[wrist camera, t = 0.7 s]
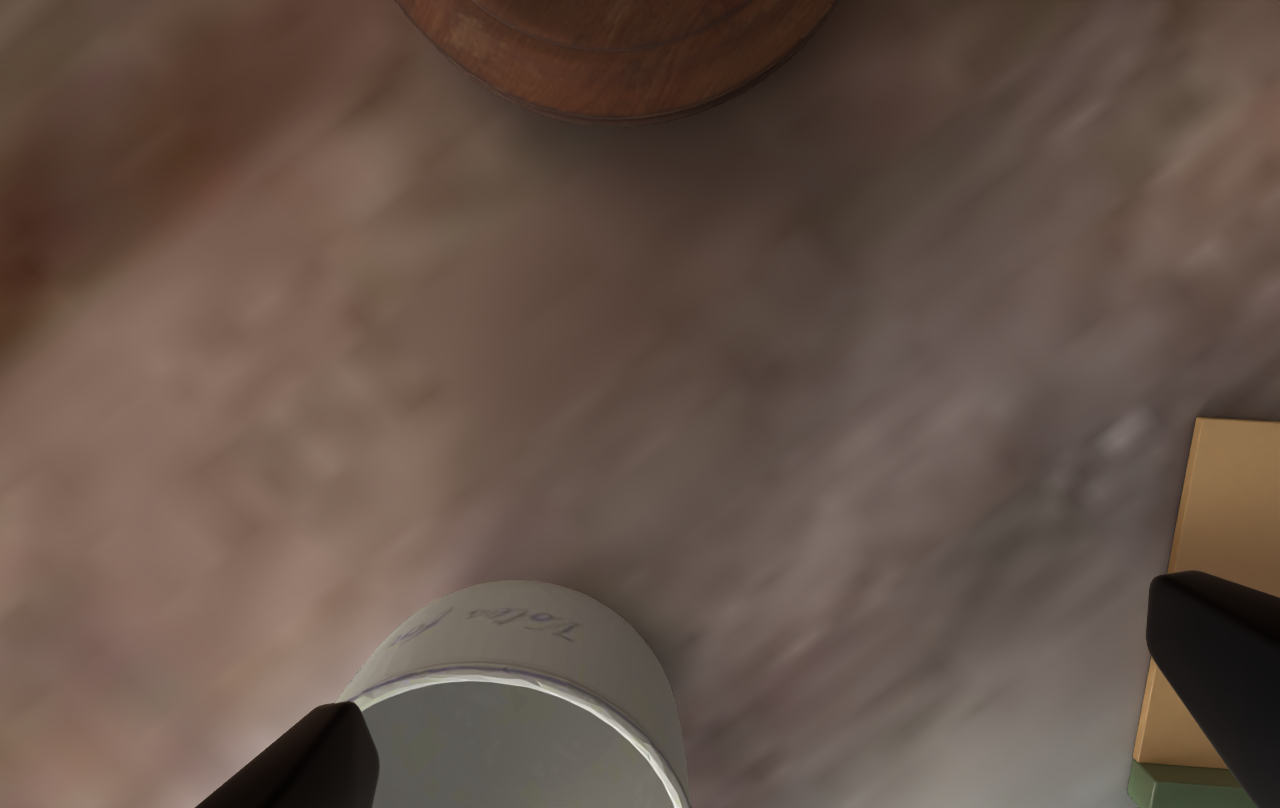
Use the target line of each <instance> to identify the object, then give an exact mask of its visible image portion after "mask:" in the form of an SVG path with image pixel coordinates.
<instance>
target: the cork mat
mask: <svg viewBox="0 0 1280 808" xmlns="http://www.w3.org/2000/svg"><path fill="white" fill-rule="evenodd" d="M1188 570H1196V571H1201V572H1205V573H1208V574H1211V575H1214V576H1217V577H1220V578H1223V579H1226V580H1229V581H1231V582H1234V583H1237V584H1240V585H1243V586H1246V587H1249V588H1252V589H1255V590H1258V591H1261V592H1264V593H1267V594H1270V595H1273V596H1276V597H1279V598H1280V422H1278V421H1260V420H1243V419H1225V418H1208V417H1196V422H1195V427H1194V433H1193V438H1192V443H1191V449H1190V454H1189V459H1188V465H1187V470H1186V475H1185V480H1184V486H1183V491H1182V496H1181V502H1180V507H1179V512H1178V518H1177V523H1176V528H1175V534H1174V539H1173V544H1172V550H1171V555H1170V560H1169V566H1168V571H1167V574H1169V573H1175V572H1182V571H1188ZM1133 758H1134V759H1133V762H1132V767H1131V772H1130V778H1129V783H1128V788H1127V794H1128V795H1129V796H1130V797H1131V799H1132V800H1133V801H1134V802H1135V803H1136V804H1137V805H1138V806H1139V807H1140V808H1257V806H1256V805H1255V804H1254V803H1253V801H1252V800H1251V799H1250V798H1249V796H1248V795H1247V794H1246V792H1245V791H1244V789H1243V788H1242V787H1241V785H1240V784H1239V783H1238V781H1237V780H1236V779H1235V777H1234V776H1233V774H1232V773H1231V772H1230V770H1229V769H1228V767H1227V766H1226V764H1225V763H1224V762H1223V760H1222V759H1221V757H1220V756H1219V754H1218V753H1217V751H1216V750H1215V749H1214V747H1213V746H1212V744H1211V743H1210V741H1209V740H1208V738H1207V737H1206V736H1205V734H1204V733H1203V731H1202V730H1201V728H1200V727H1199V725H1198V724H1197V723H1196V721H1195V720H1194V718H1193V717H1192V715H1191V714H1190V712H1189V711H1188V710H1187V708H1186V707H1185V705H1184V704H1183V702H1182V701H1181V699H1180V698H1179V697H1178V695H1177V694H1176V692H1175V691H1174V689H1173V688H1172V686H1171V685H1170V683H1169V682H1168V681H1167V679H1166V678H1165V676H1164V675H1163V673H1162V672H1161V670H1160V669H1159V668H1158V666H1157V665H1156V663H1155V662H1154V660H1153V658H1152V656H1151V662H1150V667H1149V672H1148V678H1147V683H1146V688H1145V694H1144V699H1143V704H1142V710H1141V715H1140V720H1139V726H1138V731H1137V736H1136V742H1135V747H1134V752H1133Z"/></svg>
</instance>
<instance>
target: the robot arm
mask: <svg viewBox="0 0 1280 808" xmlns="http://www.w3.org/2000/svg"><path fill="white" fill-rule="evenodd" d="M1146 641H1147V646H1148V649H1149V652H1150V654H1151V656H1152V658H1153V660H1154V662H1155V663H1156V665H1157V666H1158V668H1159V669H1160V670H1161V672H1162V673H1163V675H1164V676H1165V678H1166V679H1167V681H1168V682H1169V683H1170V685H1171V686H1172V688H1173V689H1174V691H1175V692H1176V694H1177V695H1178V697H1179V698H1180V699H1181V701H1182V702H1183V704H1184V705H1185V707H1186V708H1187V710H1188V711H1189V712H1190V714H1191V715H1192V717H1193V718H1194V720H1195V721H1196V723H1197V724H1198V725H1199V727H1200V728H1201V730H1202V731H1203V733H1204V734H1205V736H1206V737H1207V738H1208V740H1209V741H1210V743H1211V744H1212V746H1213V747H1214V749H1215V750H1216V751H1217V753H1218V754H1219V756H1220V757H1221V759H1222V760H1223V762H1224V763H1225V764H1226V766H1227V767H1228V769H1229V770H1230V772H1231V773H1232V774H1233V776H1234V777H1235V779H1236V780H1237V781H1238V783H1239V784H1240V785H1241V787H1242V788H1243V789H1244V791H1245V792H1246V794H1247V795H1248V796H1249V798H1250V799H1251V800H1252V801H1253V803H1254V804H1255V805H1256V806H1257V808H1280V598H1279V597H1276V596H1273V595H1270V594H1267V593H1264V592H1261V591H1258V590H1255V589H1252V588H1249V587H1246V586H1243V585H1240V584H1237V583H1234V582H1231V581H1229V580H1226V579H1223V578H1220V577H1217V576H1214V575H1211V574H1208V573H1205V572H1201V571H1196V570H1188V571H1182V572H1175V573H1169V574H1162V575H1159V576H1157V577H1155V578H1154V579H1153V580H1152V582H1151V584H1150V588H1149V600H1148V614H1147V628H1146ZM379 771H380V760H379V755H378V751H377V748H376V746H375V744H374V741H373V739H372V736H371V734H370V731H369V729H368V727H367V724H366V722H365V719H364V717H363V714H362V712H361V710H360V708H359V706H358V705H357V704H356V703H354V702H351V701H344V702H338V703H331V704H325V705H321V706H318V707H316V708H315V709H313V710H312V711H311V712H310V713H309V714H307V715H306V716H305V717H304V718H302V719H301V720H300V721H299V722H298V723H296V724H295V725H294V726H293V727H292V728H290V729H289V730H288V731H287V732H286V733H284V734H283V735H282V736H281V737H280V738H278V739H277V740H276V741H275V742H274V743H272V744H271V745H270V746H269V747H268V748H266V749H265V750H264V751H263V752H261V753H260V754H259V755H258V756H257V757H255V758H254V759H253V760H252V761H251V762H249V763H248V764H247V765H246V766H245V767H243V768H242V769H241V770H240V771H239V772H237V773H236V774H235V775H234V776H233V777H231V778H230V779H229V780H228V781H227V782H225V783H224V784H223V785H222V786H221V787H219V788H218V789H217V790H216V791H214V792H213V793H212V794H211V795H210V796H208V797H207V798H206V799H205V800H204V801H202V802H201V803H200V804H199V805H198V806H196V807H195V808H372V806H373V802H374V797H375V792H376V788H377V783H378V778H379Z"/></svg>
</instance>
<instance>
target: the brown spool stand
mask: <svg viewBox="0 0 1280 808" xmlns="http://www.w3.org/2000/svg"><path fill="white" fill-rule="evenodd" d="M395 1H396V3H397V4H398V5H399V7H400V8H401V9H402V11H403V12H404V13H405V15H406V16H407V17H408V18H409V19H410V20H411V22H412V23H413V24H414V25H415V26H416V27H417V28H418V29H419V31H420V32H421V33H422V34H423V35H424V36H425V37H426V38H427V39H428V40H429V41H430V42H431V43H432V44H433V46H434V47H435V48H436V49H437V50H438V51H439V52H440V53H441V54H443V55H444V56H445V57H446V58H447V59H448V60H449V61H450V62H451V63H452V64H453V65H454V66H455V67H457V68H458V69H459V70H461V71H462V72H463V73H465V74H466V75H467V76H469V77H470V78H471V79H472V80H474V81H475V82H476V83H478V84H480V85H481V86H483V87H484V88H486V89H488V90H489V91H491V92H493V93H494V94H496V95H497V96H499V97H501V98H503V99H505V100H507V101H510V102H512V103H514V104H516V105H518V106H520V107H522V108H525V109H527V110H530V111H533V112H536V113H538V114H541V115H544V116H547V117H551V118H555V119H559V120H563V121H567V122H572V123H579V124H586V125H592V126H611V127H625V126H641V125H649V124H655V123H661V122H667V121H672V120H676V119H679V118H683V117H687V116H690V115H694V114H697V113H699V112H702V111H704V110H707V109H710V108H712V107H715V106H717V105H720V104H722V103H724V102H726V101H727V100H729V99H731V98H733V97H735V96H737V95H739V94H741V93H743V92H745V91H746V90H748V89H749V88H751V87H752V86H754V85H756V84H757V83H759V82H760V81H762V80H764V79H765V78H766V77H768V76H769V75H770V74H771V73H773V72H774V71H775V70H777V69H778V68H779V67H780V66H782V65H783V64H784V63H785V62H787V61H788V60H789V59H790V58H791V57H792V56H793V55H794V54H795V53H796V52H797V51H798V50H799V49H800V48H801V47H802V46H804V45H805V44H806V43H807V41H808V40H809V39H810V38H811V37H812V36H813V35H814V33H815V32H816V31H817V30H818V29H819V28H820V27H821V26H822V24H823V23H824V22H825V21H826V19H827V18H828V17H829V15H830V14H831V12H832V11H833V10H834V8H835V7H836V6H837V4H838V3H839V1H840V0H395Z"/></svg>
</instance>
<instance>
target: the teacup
mask: <svg viewBox="0 0 1280 808" xmlns="http://www.w3.org/2000/svg"><path fill="white" fill-rule="evenodd" d="M344 701H351V702H354V703H356V704H357V705H358V706H359V708H360V710H361V712H362V714H363V717H364V719H365V722H366V724H367V727H368V729H369V731H370V734H371V736H372V739H373V741H374V744H375V746H376V748H377V751H378V755H379V760H380V771H379V778H378V783H377V788H376V792H375V797H374V802H373V806H372V808H692V806H691V802H690V791H689V781H688V771H687V764H686V757H685V750H684V743H683V735H682V729H681V724H680V719H679V714H678V710H677V706H676V702H675V699H674V696H673V693H672V690H671V687H670V684H669V681H668V679H667V677H666V675H665V673H664V671H663V669H662V667H661V665H660V663H659V661H658V660H657V658H656V656H655V655H654V653H653V651H652V650H651V648H650V647H649V646H648V645H647V643H646V642H645V641H644V639H643V638H642V637H641V636H640V635H639V634H638V632H637V631H636V630H635V629H634V628H633V627H632V626H631V625H630V624H629V623H628V622H627V621H626V620H624V619H623V618H622V617H620V616H619V615H618V614H617V613H615V612H614V611H613V610H611V609H610V608H608V607H607V606H605V605H604V604H602V603H600V602H599V601H597V600H596V599H594V598H592V597H590V596H588V595H586V594H583V593H581V592H578V591H575V590H572V589H569V588H566V587H563V586H560V585H556V584H551V583H546V582H541V581H531V580H503V581H493V582H487V583H482V584H476V585H472V586H469V587H466V588H463V589H460V590H457V591H455V592H452V593H450V594H447V595H445V596H443V597H441V598H439V599H437V600H435V601H433V602H431V603H430V604H428V605H426V606H425V607H423V608H422V609H420V610H419V611H417V612H416V613H414V614H413V615H412V616H410V617H409V618H408V619H406V620H405V621H404V622H403V623H402V624H401V625H400V626H399V627H397V628H396V629H395V630H394V631H393V632H392V633H391V634H390V635H389V636H388V637H387V638H386V639H385V640H384V641H383V642H382V643H381V644H380V645H379V646H378V648H377V649H376V650H375V651H374V652H373V654H372V655H371V656H370V657H369V659H368V660H367V661H366V662H365V663H364V665H363V666H362V667H361V668H360V670H359V671H358V672H357V673H356V675H355V676H354V677H353V679H352V680H351V681H350V683H349V684H348V686H347V687H346V688H345V690H344V691H343V692H342V694H341V695H340V696H339V698H338V699H337V701H336V702H335V703H338V702H344Z"/></svg>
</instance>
